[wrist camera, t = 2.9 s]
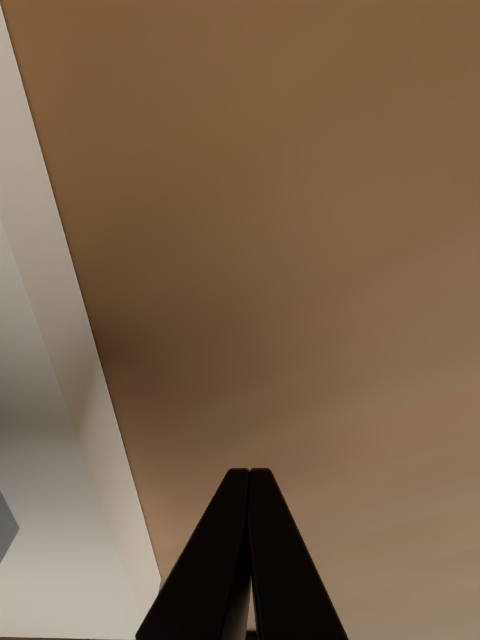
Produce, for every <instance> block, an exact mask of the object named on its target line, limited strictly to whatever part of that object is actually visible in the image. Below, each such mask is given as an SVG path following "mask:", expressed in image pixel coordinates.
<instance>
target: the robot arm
mask: <svg viewBox="0 0 480 640" xmlns="http://www.w3.org/2000/svg"><path fill="white" fill-rule="evenodd" d="M251 580H252V592H253V603H254V612H255V622H256V631H257V637H246V628H247V619H248V611H249V602H250V592H251ZM135 639H136V640H349V639H348V637H347V635H346V632H345V630H344V628H343V626H342V624H341V621H340V619H339V617H338V615H337V613H336V611H335V608H334V606H333V604H332V602H331V600H330V598H329V595H328V593H327V591H326V589H325V587H324V584H323V582H322V580H321V578H320V576H319V574H318V571H317V569H316V567H315V565H314V563H313V560H312V558H311V556H310V554H309V552H308V550H307V547H306V545H305V543H304V541H303V539H302V536H301V534H300V532H299V530H298V528H297V526H296V523H295V521H294V519H293V517H292V515H291V512H290V510H289V508H288V506H287V504H286V502H285V499H284V497H283V495H282V493H281V491H280V488H279V486H278V484H277V482H276V480H275V478H274V475H273V473H272V471H271V470H270V469H269V468H252V469H251V470H250V471H249V469H247V468H231V469H229V470H228V472H227V473H226V475H225V477H224V479H223V480H222V482H221V484H220V486H219V487H218V489H217V491H216V493H215V494H214V496H213V498H212V500H211V502H210V503H209V505H208V507H207V509H206V510H205V512H204V514H203V516H202V517H201V519H200V521H199V523H198V525H197V526H196V528H195V530H194V532H193V533H192V535H191V537H190V539H189V540H188V542H187V544H186V546H185V547H184V549H183V551H182V553H181V555H180V556H179V558H178V560H177V562H176V563H175V565H174V567H173V569H172V570H171V572H170V574H169V576H168V578H167V579H166V581H165V583H164V585H163V586H162V588H161V590H160V592H159V593H158V595H157V597H156V599H155V601H154V602H153V604H152V606H151V608H150V609H149V611H148V613H147V615H146V616H145V618H144V620H143V622H142V623H141V625H140V627H139V629H138V631H137V632H136V634H135Z"/></svg>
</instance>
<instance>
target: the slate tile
mask: <svg viewBox="0 0 480 640" xmlns="http://www.w3.org/2000/svg"><path fill="white" fill-rule="evenodd" d="M19 529H20V528H19V526H18V524H17V522H16V520H15V518H14V516H13V514H12V512H11V510H10V508H9V506H8V504H7V503H6V501H5V499H4V497H3V495H2V493H1V491H0V563H1V562H2V560H3V558H4V556H5V554H6V553H7V551H8V549H9V547H10V545H11V544H12V542H13V540H14V538H15V536H16V535H17V533H18V531H19Z"/></svg>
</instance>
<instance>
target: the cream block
mask: <svg viewBox="0 0 480 640" xmlns="http://www.w3.org/2000/svg"><path fill="white" fill-rule="evenodd" d="M0 491H1V493H2V495H3V497H4V499H5V501H6V503H7V504H8V506H9V508H10V510H11V512H12V514H13V516H14V518H15V520H16V522H17V524H18V526H19V528H20V529H19V531H18V533H17V535H16V536H15V538H14V540H13V542H12V544H11V545H10V547H9V549H8V551H7V553H6V554H5V556H4V558H3V560H2V562H1V563H0V637H28V638H70V639H111V640H136V639H135V634H136V632H137V631H138V629H139V627H140V625H141V623H142V622H143V620H144V618H145V616H146V615H147V613H148V611H149V609H150V608H151V606H152V604H153V602H154V601H155V599H156V597H157V595H158V591H159V586H160V581H161V578H160V574H159V570H158V567H157V563H156V560H155V556H154V553H153V549H152V545H151V542H150V538H149V535H148V531H147V528H146V524H145V520H144V517H143V513H142V510H141V506H140V503H139V499H138V495H137V492H136V488H135V485H134V481H133V477H132V474H131V470H130V467H129V463H128V460H127V456H126V452H125V449H124V445H123V442H122V438H121V435H120V431H119V427H118V424H117V420H116V417H115V413H114V410H113V406H112V402H111V399H110V395H109V392H108V388H107V384H106V381H105V377H104V374H103V370H102V367H101V363H100V359H99V356H98V352H97V349H96V345H95V342H94V338H93V334H92V331H91V327H90V324H89V320H88V317H87V313H86V309H85V306H84V302H83V299H82V295H81V291H80V288H79V284H78V281H77V277H76V274H75V270H74V266H73V263H72V259H71V256H70V252H69V249H68V245H67V241H66V238H65V234H64V231H63V227H62V224H61V220H60V216H59V213H58V209H57V206H56V202H55V198H54V195H53V191H52V188H51V184H50V181H49V177H48V173H47V170H46V166H45V163H44V159H43V156H42V152H41V148H40V145H39V141H38V138H37V134H36V131H35V127H34V123H33V120H32V116H31V113H30V109H29V105H28V102H27V98H26V95H25V91H24V88H23V84H22V80H21V77H20V73H19V70H18V66H17V63H16V59H15V55H14V52H13V48H12V45H11V41H10V38H9V34H8V30H7V27H6V23H5V20H4V16H3V12H2V9H1V5H0Z"/></svg>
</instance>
